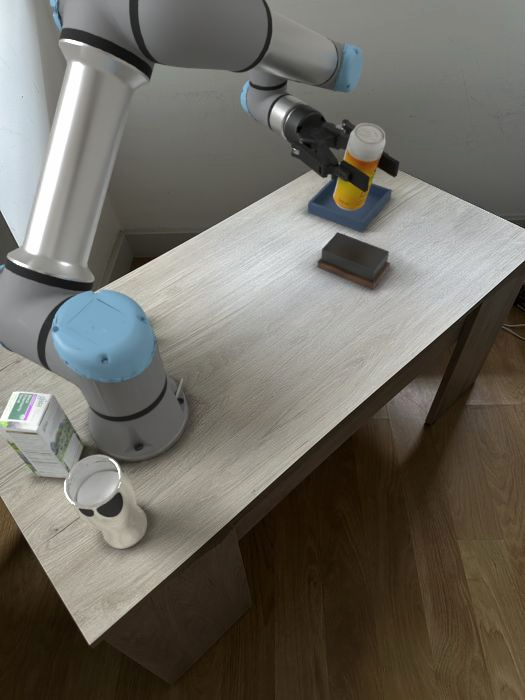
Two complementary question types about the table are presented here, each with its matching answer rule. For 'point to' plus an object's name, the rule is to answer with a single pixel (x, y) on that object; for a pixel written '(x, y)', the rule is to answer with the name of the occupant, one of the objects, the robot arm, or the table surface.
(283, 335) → the table surface
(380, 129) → the beer can
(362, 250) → the sharpening stone
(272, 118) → the robot arm
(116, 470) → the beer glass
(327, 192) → the tray
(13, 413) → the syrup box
